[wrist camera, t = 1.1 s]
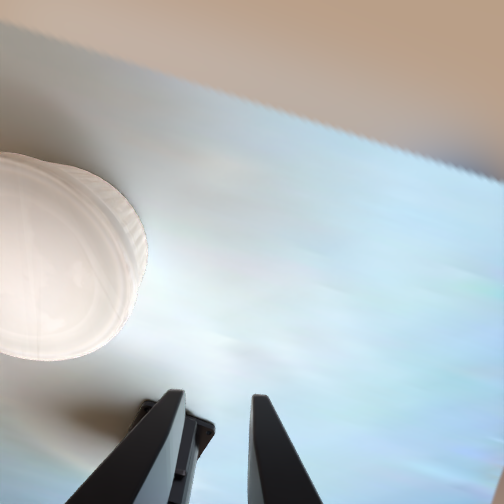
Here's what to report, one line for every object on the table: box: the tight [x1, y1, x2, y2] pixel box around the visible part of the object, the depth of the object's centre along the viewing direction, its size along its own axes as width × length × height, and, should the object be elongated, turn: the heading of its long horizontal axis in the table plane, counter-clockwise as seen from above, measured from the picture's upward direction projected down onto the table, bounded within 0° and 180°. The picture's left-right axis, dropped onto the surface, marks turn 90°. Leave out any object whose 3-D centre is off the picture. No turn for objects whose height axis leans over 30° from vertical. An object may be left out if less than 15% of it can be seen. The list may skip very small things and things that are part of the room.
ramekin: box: [0, 151, 148, 361], centre depth 16 cm, size 11×11×5 cm
